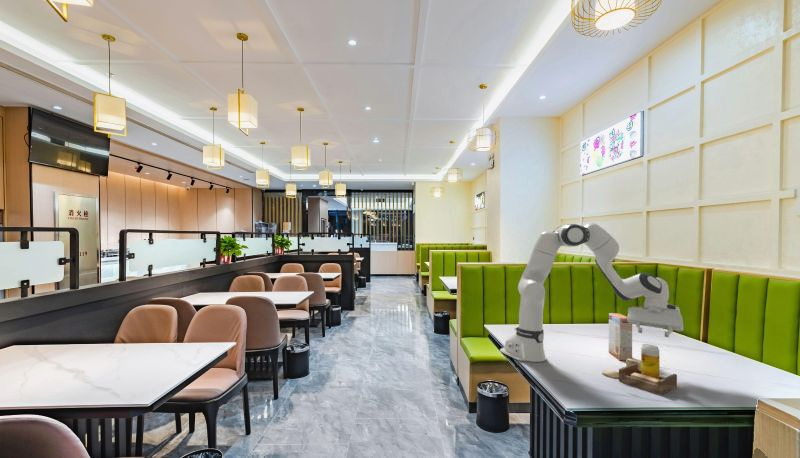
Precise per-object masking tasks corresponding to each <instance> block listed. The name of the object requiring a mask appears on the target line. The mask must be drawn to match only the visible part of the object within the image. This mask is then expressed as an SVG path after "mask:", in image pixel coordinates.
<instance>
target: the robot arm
mask: <svg viewBox="0 0 800 458" xmlns="http://www.w3.org/2000/svg"><path fill="white" fill-rule="evenodd" d="M583 244H584V245H585V246H587V247H588V248H589V251H591V252H592V253H593V255H594V256H595V263H596V266H597V267H598V269H599V271H600V272H601V274H602V275H603V276H604V278H605V279H606V280H607V281H608V283H609V284H610V286H611V287H612V289H613V291H614V293H615V295H616V296H617V297H618V298H619V299H621V300H622V301H626V302H629V301H633V300H634V299H637V298H639V297H644V298H645V299H644V302H643V306H636V305H635V306H634V305H632V306H630V307H628V309H627V312H628V313H627V316H626V317H627V320H628V322H629V323H630V324H632V325H635V326H636V328H637V333H639V334H640V333H641V334H643V327H649V328H656V329H662V330H667V331H664V338H670V335H671V334H672V333H673V332H674V331H677V332H682V331H684V320H683V316H682V314H681V310H680V307H679V306H677V305H674V304H671V303H669V302H668V301H669V299H670V291H669V289H670V288H669V285H668V283H667V281H666V280H664V279H663V278H661V277H656V276H654V275H652V274H649V273H647V272H640V273H638V274H634V275H632V276H630V277H627V278H622V277H620V275H619V274H618V273H617V272H616V270H615V268H614V267H613V265H612V262H613V261H614V260H615V259H616V257H617V256H618V254H619V251H620V245H619V242H618V241H617V240H616V239H615V238H614V237H613V236H612V235H611V234H610V233H609V232H608V231H606V229H604V227H601V226H600V225H598V224H596V223H594V222H591V223H590V222H589V223H586V224H585V225H584V226H582V225H579V224H576V223H566V224H563V225H560V226H558V227H557V228H555V230H553V231H543V232H541V233H539V236H538V237H537V239H536V240H535V243H534V245H533V248H532V251H531V253H530V256H529V259H528V262H527V265H526V266H525V269H524V271H523V273H522V274H521V277H520V279H519V282H518V285H517V290H518V293H519V295H520V300H519V301H520V303H519V310H518V319H519V320H518V327H514V331H516V332H515V333H514V334H513V335H512V336H510V337H508V338H507V339H506V340H505V342H504V347H502V348H500V349H499V352H500V353H502V354H503V355H504V354H505V355H507V356H508V357H510V358H513V359H515V360H517V361H522V362H533V363H537V362H538V363H541V362H545V361H546V360H547V356H546V353H545V349H544V332H545V331H544V329H543V328H544V327H543V325H544V324H543V320H544V319H543V318H544V308H545V300H546V299H545V298H546V289H545V286H544V284H545V281H546V279H547V278H548V276H549V274H550V273H551V271H552V268H553V265H554V263H555V259H556V256H557V254H558V251H559V249H560V248H561V247H563V246H564V247H568V248H571V247H578V246H580V245H583ZM641 326H643V327H641Z"/></svg>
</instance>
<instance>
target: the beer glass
mask: <svg viewBox="0 0 800 458" xmlns="http://www.w3.org/2000/svg"><path fill="white" fill-rule="evenodd" d="M640 352H641V353H640V355H641V356H640V357H641V358H640V361H641V374H642V375H645V376H649V377H652V378H656V379H660V376H661V375H660V372H661V371H660V370H661V369H660V349H659V347H658V346H657V345H654V344H649V343H647V344H646V343H644V344H643V343H642V345H641V348H640Z"/></svg>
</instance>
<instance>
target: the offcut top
mask: <svg viewBox="0 0 800 458" xmlns="http://www.w3.org/2000/svg"><path fill="white" fill-rule="evenodd" d="M625 362H626V365H625V367H626V366H628V365H631V364H634V363H637V364H638V370H641V360H637V359H634V358H632V359H630V358H628V359H626V361H625Z"/></svg>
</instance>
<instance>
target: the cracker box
mask: <svg viewBox="0 0 800 458" xmlns="http://www.w3.org/2000/svg"><path fill="white" fill-rule="evenodd" d="M608 353H609V354H611V355H612V356H614V358H616V359H617V360H619V361H623V362H626V359H628V358H630V359H633V324H630V323H629V322H628V320H627V316H626V315H623V314H621V313H617V312H615V313H613V312H609V313H608Z"/></svg>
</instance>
